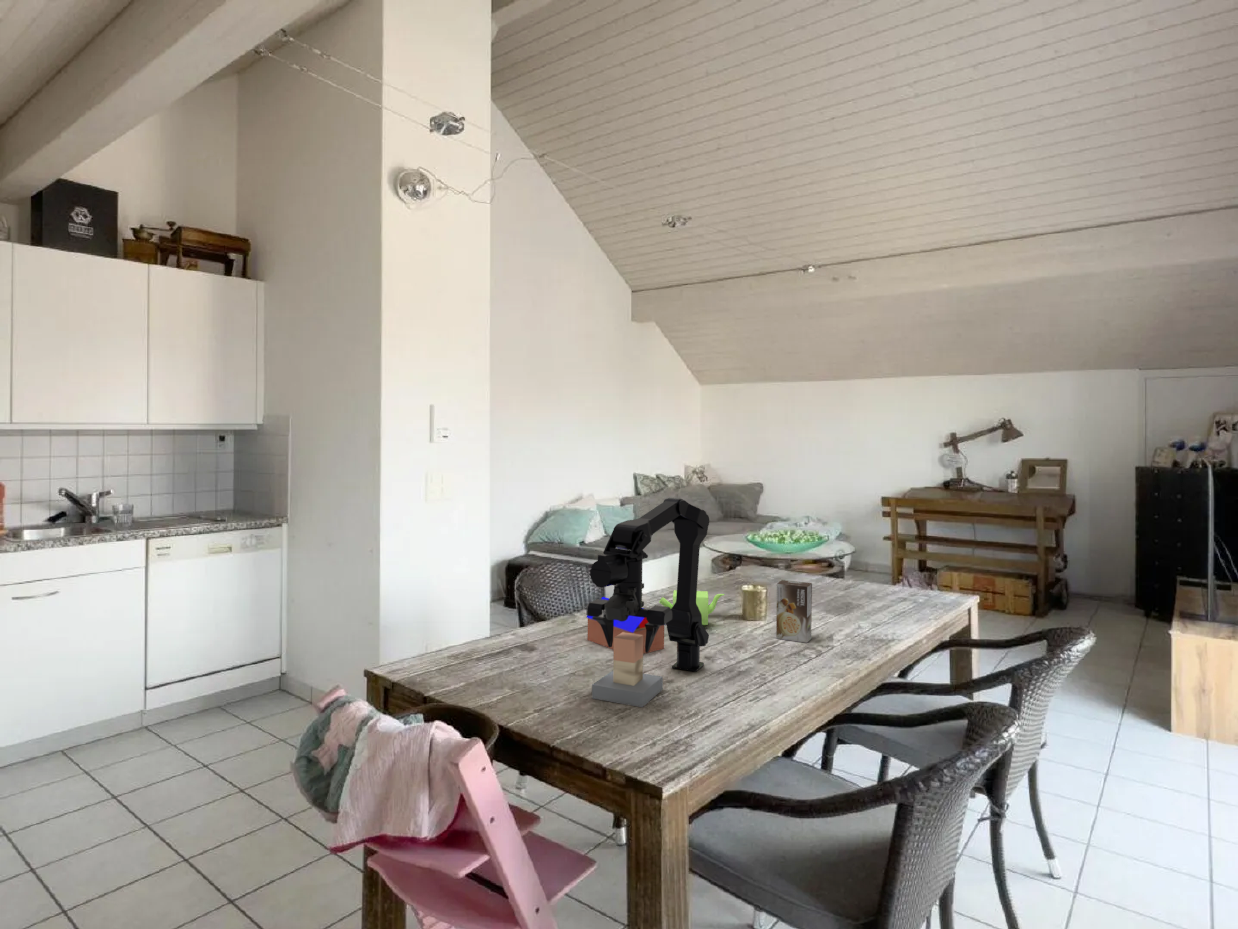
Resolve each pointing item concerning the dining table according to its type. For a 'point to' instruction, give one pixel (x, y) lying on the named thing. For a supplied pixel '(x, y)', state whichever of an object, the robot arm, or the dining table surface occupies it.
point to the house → (628, 626)
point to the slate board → (627, 690)
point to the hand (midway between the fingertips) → (628, 649)
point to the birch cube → (627, 672)
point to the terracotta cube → (628, 647)
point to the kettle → (701, 603)
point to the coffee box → (794, 611)
